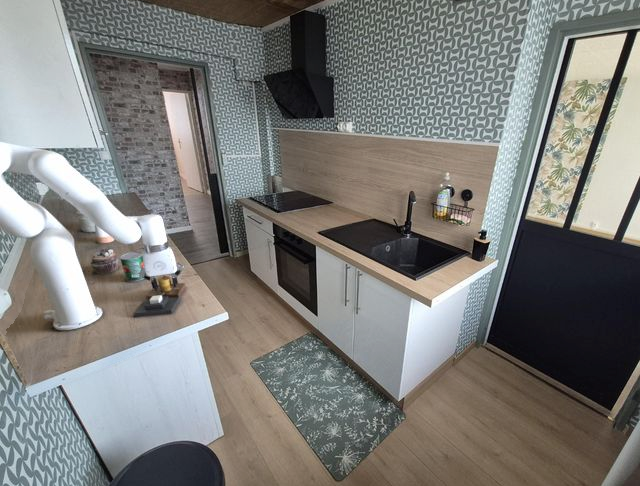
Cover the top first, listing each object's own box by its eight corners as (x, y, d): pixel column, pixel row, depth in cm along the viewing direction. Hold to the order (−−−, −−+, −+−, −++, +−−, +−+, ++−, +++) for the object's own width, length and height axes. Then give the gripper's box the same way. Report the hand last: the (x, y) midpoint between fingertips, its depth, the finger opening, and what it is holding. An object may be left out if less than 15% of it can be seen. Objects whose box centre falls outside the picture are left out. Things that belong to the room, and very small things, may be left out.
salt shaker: (113, 242, 165) (104, 209, 158) (97, 244, 162) (86, 210, 154) (115, 237, 171) (106, 206, 164) (98, 239, 167) (88, 207, 160)
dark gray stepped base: (134, 317, 106) (132, 309, 104) (145, 303, 114) (143, 295, 112) (172, 313, 109) (170, 305, 107) (179, 300, 117) (178, 293, 115)
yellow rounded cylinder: (171, 290, 118) (169, 279, 116) (160, 292, 117) (157, 281, 115) (172, 286, 122) (169, 274, 120) (160, 288, 120) (158, 276, 118)
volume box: (147, 301, 115) (146, 296, 114) (156, 290, 123) (155, 284, 122) (179, 299, 117) (177, 293, 116) (185, 287, 125) (184, 282, 124)
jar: (97, 224, 189) (88, 198, 182) (115, 226, 187) (107, 199, 181) (75, 231, 177) (66, 203, 170) (94, 233, 175) (85, 205, 169)
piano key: (150, 304, 108) (149, 300, 108) (153, 299, 111) (152, 295, 110) (159, 303, 109) (158, 299, 108) (162, 299, 112) (161, 295, 111)
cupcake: (98, 266, 138) (92, 247, 135) (123, 264, 142) (118, 245, 138) (89, 275, 130) (82, 255, 126) (116, 273, 134) (110, 253, 130)
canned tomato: (122, 279, 129) (115, 256, 125) (140, 272, 136) (134, 250, 132) (133, 283, 126) (127, 260, 122) (152, 275, 133) (146, 253, 129)
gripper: (126, 253, 105) (138, 296, 112) (182, 246, 113) (190, 287, 120) (130, 246, 111) (141, 287, 118) (182, 240, 119) (190, 279, 126)
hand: (165, 286), depth 119 cm, fingers open, 5 cm apart
